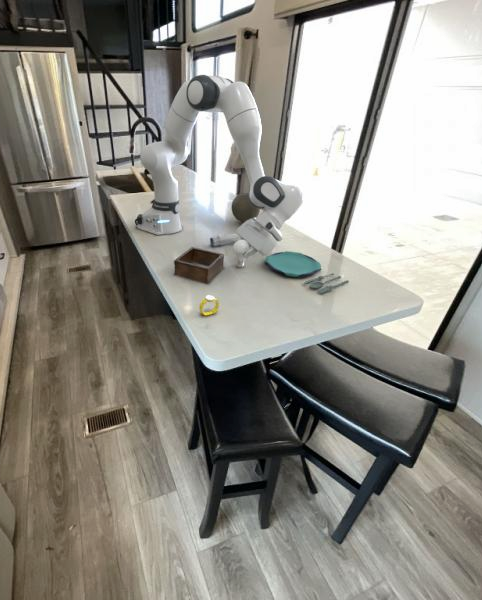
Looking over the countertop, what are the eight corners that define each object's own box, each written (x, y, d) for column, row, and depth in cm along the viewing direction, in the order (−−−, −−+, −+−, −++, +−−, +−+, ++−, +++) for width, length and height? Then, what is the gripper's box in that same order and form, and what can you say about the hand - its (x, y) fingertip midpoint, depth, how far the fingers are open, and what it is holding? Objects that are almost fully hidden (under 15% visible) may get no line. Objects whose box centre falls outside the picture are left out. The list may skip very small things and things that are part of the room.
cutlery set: (293, 252, 134) (294, 247, 133) (353, 284, 112) (354, 278, 111) (255, 262, 126) (256, 256, 125) (312, 298, 104) (313, 292, 103)
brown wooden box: (174, 274, 117) (173, 260, 114) (191, 260, 127) (192, 246, 124) (207, 284, 112) (208, 269, 108) (223, 268, 122) (224, 254, 119)
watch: (201, 318, 94) (202, 302, 91) (197, 313, 96) (198, 297, 93) (219, 314, 96) (220, 297, 93) (215, 309, 99) (216, 293, 95)
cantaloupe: (235, 216, 172) (238, 188, 164) (261, 220, 167) (265, 191, 159) (226, 224, 162) (228, 195, 154) (253, 229, 157) (257, 198, 148)
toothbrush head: (209, 235, 139) (262, 223, 142) (210, 249, 143) (262, 237, 146) (212, 239, 135) (267, 227, 138) (214, 253, 139) (267, 241, 142)
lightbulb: (228, 264, 124) (230, 238, 118) (242, 262, 126) (245, 235, 120) (236, 271, 119) (239, 244, 113) (251, 268, 121) (254, 242, 115)
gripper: (248, 211, 123) (223, 237, 126) (276, 229, 107) (247, 259, 110) (257, 221, 127) (233, 246, 129) (285, 240, 111) (257, 269, 113)
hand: (239, 252), depth 119 cm, fingers closed on lightbulb, 6 cm apart
